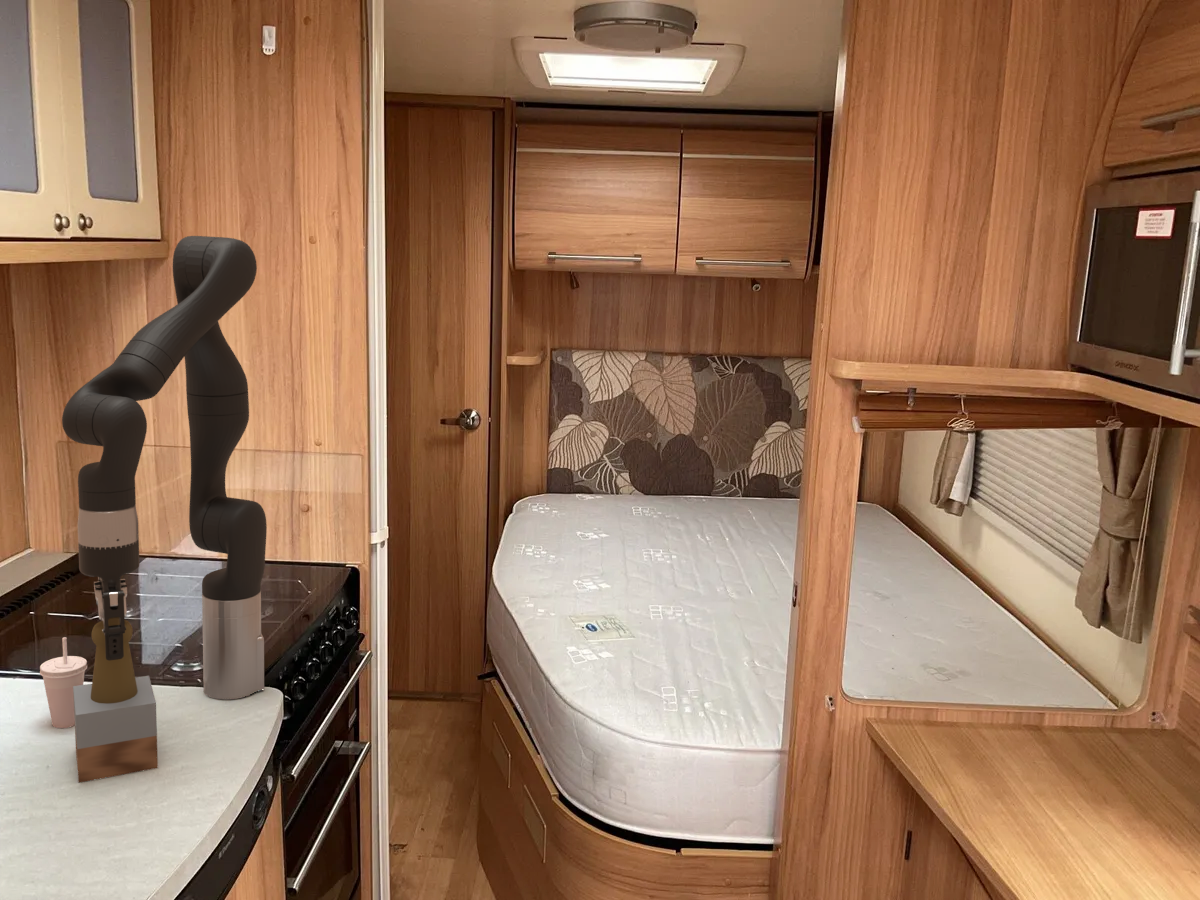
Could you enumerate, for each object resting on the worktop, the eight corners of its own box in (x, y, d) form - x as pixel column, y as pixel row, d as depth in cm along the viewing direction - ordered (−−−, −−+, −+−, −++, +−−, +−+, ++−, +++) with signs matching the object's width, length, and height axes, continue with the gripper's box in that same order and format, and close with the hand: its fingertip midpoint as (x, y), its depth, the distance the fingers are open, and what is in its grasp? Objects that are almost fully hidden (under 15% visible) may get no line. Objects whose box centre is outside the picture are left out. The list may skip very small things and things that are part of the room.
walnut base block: (150, 737, 147) (149, 706, 146) (157, 768, 139) (156, 735, 138) (75, 750, 142) (74, 718, 141) (78, 782, 134) (77, 749, 133)
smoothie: (57, 736, 146) (52, 648, 143) (33, 724, 149) (29, 637, 147) (98, 721, 151) (94, 636, 149) (74, 709, 155) (71, 626, 152)
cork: (147, 691, 140) (145, 619, 138) (110, 707, 135) (108, 632, 133) (117, 682, 143) (115, 610, 141) (80, 697, 137) (77, 623, 135)
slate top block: (149, 706, 146) (148, 675, 146) (156, 735, 138) (156, 702, 137) (74, 718, 141) (73, 686, 141) (77, 749, 133) (75, 715, 132)
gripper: (143, 549, 130) (146, 662, 133) (134, 522, 142) (137, 627, 145) (80, 554, 127) (84, 671, 130) (76, 526, 139) (80, 634, 142)
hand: (112, 647), depth 138 cm, fingers open, 8 cm apart
